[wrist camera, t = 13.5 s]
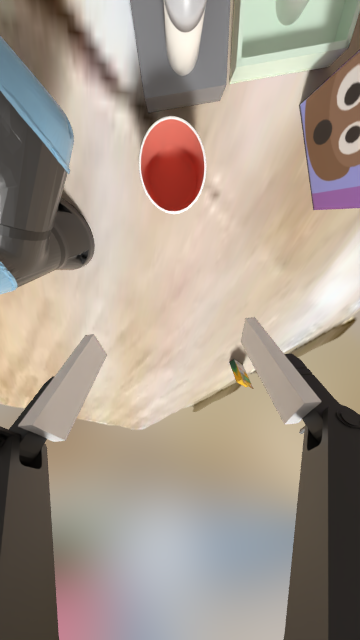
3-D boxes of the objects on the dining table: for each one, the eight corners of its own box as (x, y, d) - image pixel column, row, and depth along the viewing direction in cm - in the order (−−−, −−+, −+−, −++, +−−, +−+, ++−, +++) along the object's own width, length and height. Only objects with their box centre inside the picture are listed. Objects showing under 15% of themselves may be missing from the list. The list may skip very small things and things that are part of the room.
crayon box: (228, 362, 65) (237, 386, 56) (234, 358, 64) (244, 383, 55) (237, 368, 68) (247, 392, 59) (243, 365, 67) (254, 389, 58)
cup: (156, 133, 25) (147, 94, 17) (206, 163, 27) (219, 142, 19) (143, 201, 30) (132, 196, 22) (186, 221, 33) (190, 224, 25)
